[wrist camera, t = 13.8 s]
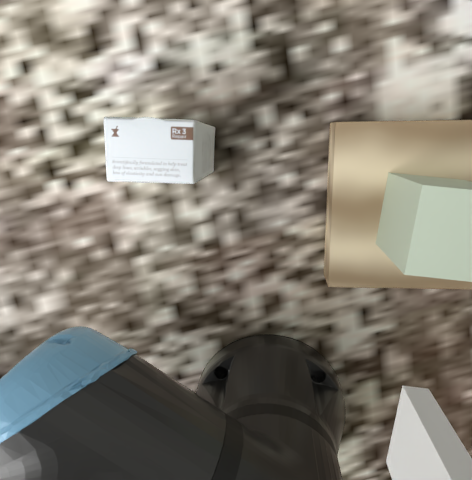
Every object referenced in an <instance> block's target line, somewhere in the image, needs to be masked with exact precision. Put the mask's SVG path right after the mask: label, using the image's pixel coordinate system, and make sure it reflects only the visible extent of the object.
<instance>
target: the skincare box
mask: <svg viewBox="0 0 472 480" xmlns="http://www.w3.org/2000/svg"><path fill="white" fill-rule="evenodd" d="M104 136H105V156H106V173H107V181H109V182H145V183H180V184H194V183H196V182H198V181H200V180H201V179H203V178H205V177H206V176H208V175H210V174H211V173H213V172H214V145H215V127H213V126H211V125H208V124H205V123H202V122H199V121H196V120H187V119H158V118H152V117H141V118H133V117H104Z"/></svg>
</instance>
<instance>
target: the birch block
mask: <svg viewBox="0 0 472 480" xmlns="http://www.w3.org/2000/svg"><path fill="white" fill-rule="evenodd" d="M388 173H398V174H409V175H419V176H430V177H440V178H451V179H461V180H467V181H471V182H472V120H433V121H367V122H332V123H330V134H329V159H328V183H327V207H326V232H325V256H324V276H325V279H326V282H327V284H328V287H357V288H418V289H472V282H467V281H458V280H449V279H440V278H430V277H421V276H412V275H404V274H403V273H402V272H401V271H400V269H399V268H398V267H397V266H396V265H395V264H394V263H393V262H392V261H391V260H390V259H389V258H388V256H387V255H386V254H385V253H384V252H383V251H382V250H381V249H380V248H379V247H378V246H377V244H376V238H377V233H378V227H379V222H380V216H381V211H382V205H383V200H384V194H385V189H386V183H387V178H388Z"/></svg>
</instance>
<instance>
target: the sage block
mask: <svg viewBox="0 0 472 480" xmlns="http://www.w3.org/2000/svg"><path fill="white" fill-rule="evenodd" d="M376 244H377V246H378V247H379V248H380V249H381V250H382V251H383V252H384V253H385V254H386V255H387V256H388V258H389V259H390V260H391V261H392V262H393V263H394V264H395V265H396V266H397V267H398V268H399V269H400V271H401V272H402V273H403V274H404V275H412V276H421V277H430V278H440V279H449V280H458V281H467V282H472V182H471V181H467V180H461V179H451V178H440V177H430V176H419V175H409V174H398V173H388V178H387V183H386V189H385V194H384V200H383V205H382V211H381V216H380V222H379V227H378V233H377V238H376Z"/></svg>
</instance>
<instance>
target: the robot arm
mask: <svg viewBox="0 0 472 480" xmlns="http://www.w3.org/2000/svg"><path fill="white" fill-rule="evenodd" d="M136 353H137V351H136V350H134V349H127V348H125V347H123V346H121V345H120V344H118V343H116V342H115V341H113V340H111V339H109V338H108V337H106V336H104V335H102V334H101V333H99V332H97V331H96V330H93V329H91V328H87V327H72V328H68V329H65V330H63V331H61V332H59V333H57V334H56V335H54V336H52V337H51V338H49V339H48V340H46V341H45V342H44V343H42V344H41V345H40V346H38V347H37V348H36V349H34V350H33V351H32V352H31V353H30V354H28V355H27V356H26V357H25V358H24V359H22V360H21V361H20V362H19V363H18V364H17V365H16V366H14V367H13V368H12V369H11V370H10V371H9V372H8V373H7V374H6V375H4V376H3V377H2V378H1V379H0V480H342V476H341V472H340V467H339V463H338V458H337V454H338V450H339V445H340V441H341V437H342V433H343V429H344V424H345V402H344V397H343V394H342V390H341V386H340V383H339V380H338V378H337V375H336V373H335V372H334V370H333V368H332V367H331V365H330V364H329V363H328V362H327V361H326V359H325V358H324V357H323V356H322V355H320V354H319V353H318V352H317V351H315V350H314V349H313V348H311V347H309V346H308V345H306V344H304V343H302V342H299V341H297V340H294V339H291V338H288V337H283V336H276V335H258V336H252V337H247V338H244V339H241V340H238V341H236V342H233V343H231V344H230V345H228V346H226V347H225V348H223V349H222V350H220V351H219V352H218V353H217V354H216V355H215V356H214V357H213V358H212V359H211V360H210V361H209V363H208V364H207V366H206V367H205V369H204V371H203V373H202V375H201V378H200V381H199V385H198V388H197V392H196V393H194V392H193V391H191V390H190V389H188V388H187V387H185V386H184V385H182V384H180V383H179V382H177V381H176V380H174V379H173V378H171V377H170V376H168V375H167V374H165V373H163V372H162V371H160V370H159V369H157V368H156V367H154V366H153V365H151V364H150V363H148V362H146V361H145V360H143V359H142V358H140V357H139V356H137V355H136ZM386 463H387V466H388V469H389V472H390V475H391V478H392V480H472V458H471V457H470V455H469V453H468V452H467V450H466V449H465V447H464V445H463V444H462V442H461V440H460V439H459V437H458V436H457V434H456V432H455V431H454V429H453V427H452V426H451V424H450V423H449V421H448V419H447V418H446V416H445V414H444V413H443V411H442V410H441V408H440V406H439V405H438V403H437V401H436V400H435V398H434V397H433V395H432V393H431V392H430V390H429V389H427V388H419V387H411V386H402V390H401V395H400V400H399V404H398V409H397V414H396V418H395V423H394V427H393V432H392V437H391V441H390V446H389V451H388V455H387V460H386Z"/></svg>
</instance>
